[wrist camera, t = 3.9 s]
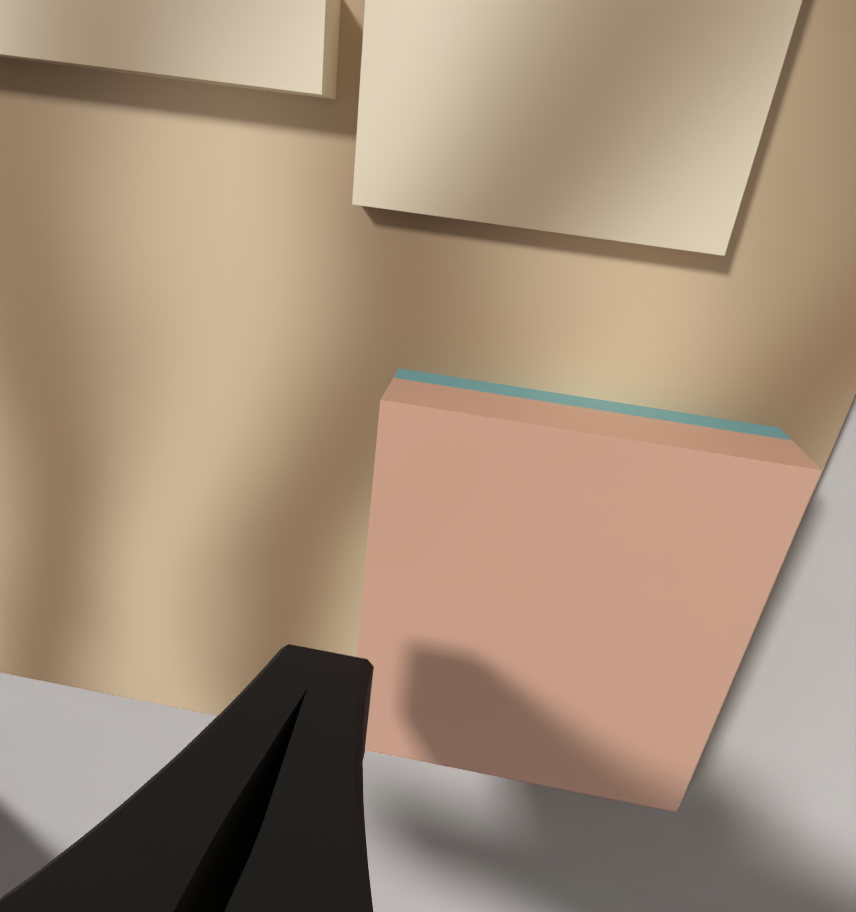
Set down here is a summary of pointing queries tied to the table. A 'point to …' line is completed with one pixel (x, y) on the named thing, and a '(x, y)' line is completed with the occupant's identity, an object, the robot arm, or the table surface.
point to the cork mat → (334, 348)
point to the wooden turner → (484, 96)
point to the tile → (565, 580)
